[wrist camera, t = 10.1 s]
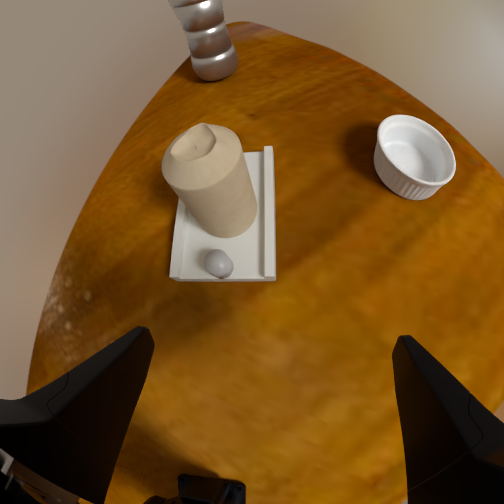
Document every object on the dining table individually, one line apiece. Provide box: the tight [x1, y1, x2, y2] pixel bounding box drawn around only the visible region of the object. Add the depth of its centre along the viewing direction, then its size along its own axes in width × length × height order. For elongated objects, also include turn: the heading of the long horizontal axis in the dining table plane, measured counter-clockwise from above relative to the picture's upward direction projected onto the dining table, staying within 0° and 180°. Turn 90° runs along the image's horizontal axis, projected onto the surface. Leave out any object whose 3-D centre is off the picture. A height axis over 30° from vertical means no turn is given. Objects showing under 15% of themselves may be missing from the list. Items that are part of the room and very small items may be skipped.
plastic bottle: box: [168, 0, 238, 81], centre depth 24 cm, size 6×7×20 cm
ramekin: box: [374, 115, 456, 200], centre depth 23 cm, size 9×9×4 cm
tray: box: [169, 146, 276, 282], centre depth 24 cm, size 13×9×3 cm
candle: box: [161, 123, 257, 238], centre depth 20 cm, size 6×6×10 cm
